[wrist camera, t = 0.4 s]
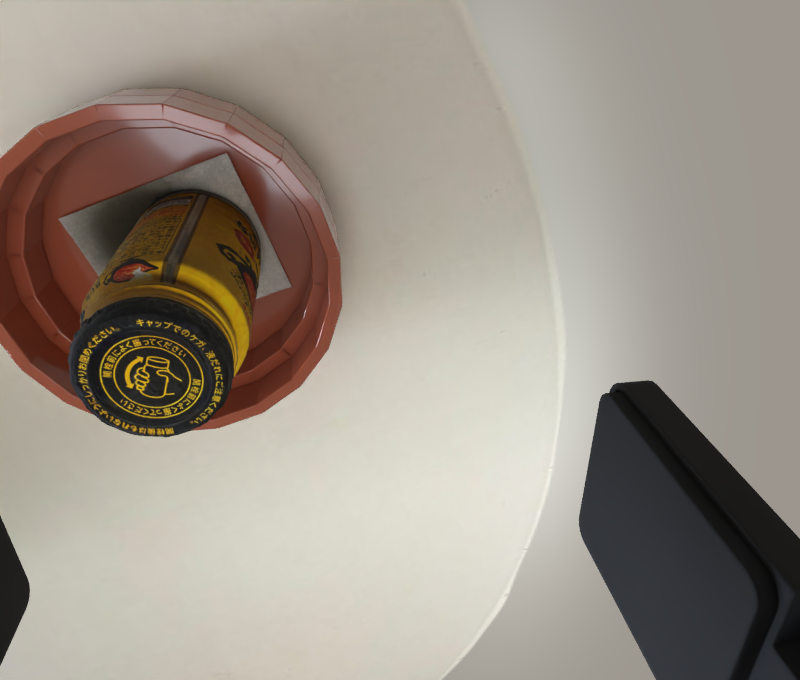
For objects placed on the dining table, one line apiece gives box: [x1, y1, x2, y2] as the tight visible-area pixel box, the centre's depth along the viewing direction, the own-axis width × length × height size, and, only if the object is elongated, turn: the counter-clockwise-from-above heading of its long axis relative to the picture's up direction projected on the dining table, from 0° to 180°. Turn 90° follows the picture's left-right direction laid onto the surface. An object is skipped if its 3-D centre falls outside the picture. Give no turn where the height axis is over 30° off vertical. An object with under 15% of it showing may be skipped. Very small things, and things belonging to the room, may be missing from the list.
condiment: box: [59, 153, 291, 437], centre depth 25 cm, size 7×8×12 cm
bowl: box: [0, 88, 342, 430], centre depth 29 cm, size 15×15×5 cm
